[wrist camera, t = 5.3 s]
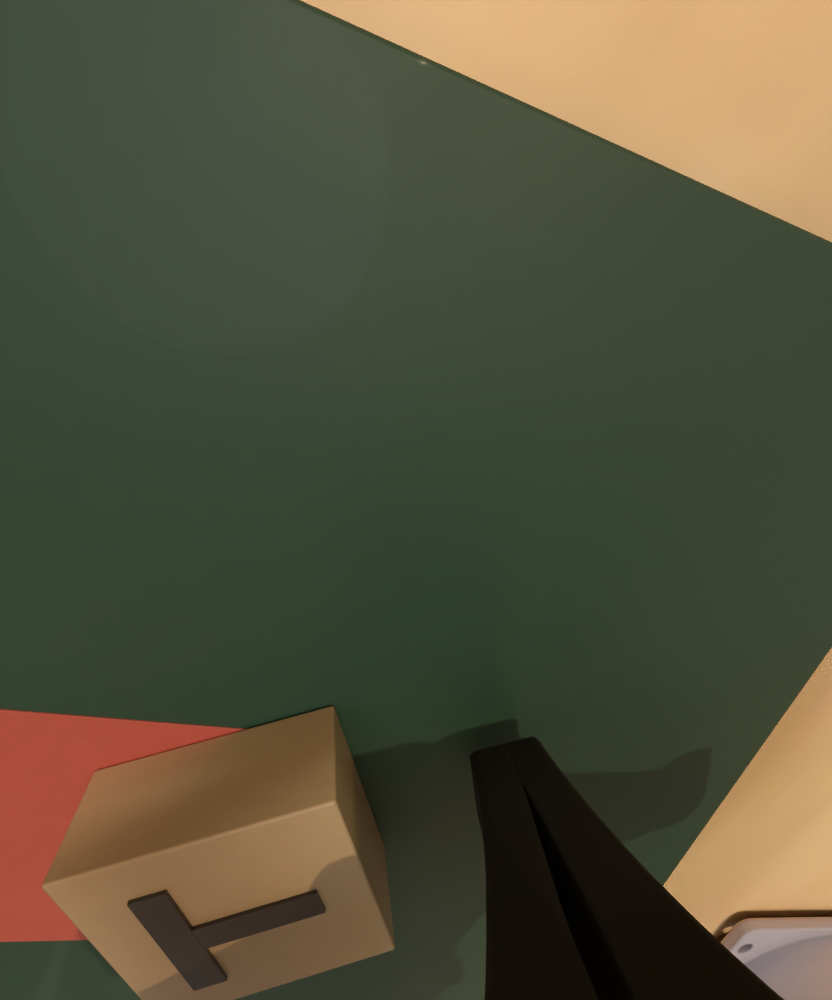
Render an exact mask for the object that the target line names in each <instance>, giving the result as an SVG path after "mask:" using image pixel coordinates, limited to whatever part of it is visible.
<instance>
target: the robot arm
mask: <svg viewBox="0 0 832 1000" xmlns="http://www.w3.org/2000/svg"><path fill="white" fill-rule="evenodd" d="M469 757H470V764H471V771H472V778H473V786H474V793H475V800H476V807H477V815H478V819H479V823H480V827H481V831H482V836H483V841H484V856H485V873H486V976H485V1000H832V917H778V918H747V919H744V920H741V921H740V922H738V923H736V924H735V925H734V926H733V927H732V929H731V930H730V931H729V932H728V934H727V935H726V936H725V937H724V938H723V940H722V941H721V942H719V941H718V940H717V939H716V938H715V937H714V936H713V935H712V934H711V933H710V932H709V931H708V930H707V929H706V928H704V927H703V926H702V925H701V924H700V923H699V922H698V921H697V920H696V919H695V918H694V917H693V916H692V915H691V914H690V913H689V912H688V911H687V910H686V909H685V908H684V907H683V906H682V905H681V904H680V903H679V902H678V901H677V900H676V899H675V898H674V897H673V896H672V895H671V894H670V893H669V892H668V891H667V890H666V889H665V888H664V887H663V886H662V885H661V884H660V883H659V882H658V881H657V880H656V879H655V878H654V877H653V876H652V875H651V874H650V873H649V871H648V870H647V869H646V868H645V867H644V866H643V865H642V864H641V863H640V862H639V861H638V860H637V859H636V858H635V857H634V856H633V854H632V853H631V852H630V851H629V850H628V849H627V848H626V847H625V846H624V845H623V844H622V842H621V841H620V840H619V839H618V838H617V837H616V836H615V834H614V833H613V832H612V831H611V830H610V829H609V828H608V827H607V825H606V824H605V823H604V822H603V821H602V820H601V819H600V818H599V816H598V815H597V814H596V813H595V812H594V811H593V809H592V808H591V807H590V806H589V805H588V803H587V802H586V801H585V800H584V799H583V797H582V796H581V795H580V794H579V792H578V791H577V790H576V789H575V788H574V786H573V785H572V784H571V783H570V781H569V780H568V779H567V778H566V776H565V775H564V774H563V772H562V771H561V770H560V768H559V767H558V766H557V765H556V763H555V762H554V761H553V759H552V758H551V756H550V755H549V754H548V752H547V751H546V749H545V748H544V747H543V745H542V744H541V742H540V741H539V739H537V738H535V737H533V736H532V737H528V738H524V739H520V740H516V741H512V742H508V743H504V744H500V745H496V746H492V747H488V748H484V749H480V750H476V751H474V752H473V753H472V754H471V755H470V756H469Z"/></svg>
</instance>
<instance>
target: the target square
mask: <svg viewBox="0 0 832 1000" xmlns="http://www.w3.org/2000/svg"><path fill="white" fill-rule="evenodd" d="M242 730H246V729H242V728H230V727H218V726H205V725H193V724H181V723H168V722H156V721H144V720H131V719H119V718H107V717H95V716H82V715H70V714H58V713H45V712H33V711H21V710H8V709H0V942H22V941H67V940H88V939H87V938H86V937H85V936H84V935H83V934H82V932H81V931H80V930H79V929H78V928H77V927H76V926H75V925H74V923H73V922H72V921H71V920H70V919H69V918H68V917H67V916H66V914H65V913H64V912H63V911H62V910H61V909H60V908H59V907H58V905H57V904H56V903H55V902H54V901H53V900H52V899H51V898H50V896H49V895H48V894H47V893H46V892H45V891H44V890H43V889H42V884H43V882H44V880H45V877H46V875H47V873H48V871H49V869H50V867H51V864H52V862H53V860H54V858H55V856H56V854H57V851H58V849H59V847H60V845H61V843H62V841H63V839H64V836H65V834H66V832H67V830H68V828H69V826H70V823H71V821H72V819H73V817H74V815H75V813H76V810H77V808H78V806H79V804H80V802H81V800H82V798H83V795H84V793H85V791H86V789H87V787H88V785H89V782H90V780H91V778H92V776H93V774H94V772H95V771H97V770H100V769H103V768H107V767H111V766H114V765H118V764H122V763H125V762H129V761H133V760H136V759H140V758H144V757H147V756H151V755H154V754H158V753H162V752H165V751H169V750H173V749H176V748H180V747H184V746H187V745H191V744H195V743H198V742H202V741H205V740H209V739H213V738H216V737H220V736H224V735H227V734H231V733H235V732H238V731H242Z"/></svg>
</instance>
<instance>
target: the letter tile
mask: <svg viewBox="0 0 832 1000" xmlns="http://www.w3.org/2000/svg"><path fill="white" fill-rule="evenodd" d="M42 889H43V890H44V891H45V892H46V893H47V894H48V895H49V896H50V898H51V899H52V900H53V901H54V902H55V903H56V904H57V905H58V907H59V908H60V909H61V910H62V911H63V912H64V913H65V914H66V916H67V917H68V918H69V919H70V920H71V921H72V922H73V923H74V925H75V926H76V927H77V928H78V929H79V930H80V931H81V932H82V934H83V935H84V936H85V937H86V938H87V939H88V940H89V941H90V943H91V944H92V945H93V946H94V947H95V948H96V949H97V950H98V952H99V953H100V954H101V955H102V956H103V957H104V958H105V959H106V961H107V962H108V963H109V964H110V965H111V966H112V967H113V968H114V970H115V971H116V972H117V973H118V974H119V975H120V976H121V977H122V978H123V980H124V981H125V982H126V983H127V984H128V985H129V986H130V987H131V989H132V990H133V991H134V992H135V993H136V994H137V995H138V996H139V998H140V999H141V1000H235V999H238V998H241V997H244V996H247V995H251V994H254V993H257V992H260V991H263V990H267V989H270V988H273V987H276V986H279V985H283V984H286V983H289V982H292V981H295V980H299V979H302V978H305V977H308V976H311V975H315V974H318V973H321V972H324V971H328V970H331V969H334V968H337V967H340V966H344V965H347V964H350V963H353V962H356V961H360V960H363V959H366V958H369V957H372V956H376V955H379V954H382V953H385V952H388V951H392V950H394V948H395V942H394V933H393V923H392V914H391V905H390V895H389V886H388V877H387V867H386V858H385V848H384V844H383V842H382V839H381V836H380V833H379V830H378V828H377V825H376V822H375V819H374V817H373V814H372V811H371V808H370V805H369V803H368V800H367V797H366V794H365V792H364V789H363V786H362V783H361V781H360V778H359V775H358V772H357V769H356V767H355V764H354V761H353V758H352V756H351V753H350V750H349V747H348V744H347V742H346V739H345V736H344V733H343V731H342V728H341V725H340V722H339V719H338V717H337V714H336V711H335V708H334V707H333V706H329V707H326V708H322V709H318V710H315V711H311V712H307V713H304V714H300V715H296V716H293V717H289V718H286V719H282V720H278V721H275V722H271V723H267V724H264V725H260V726H256V727H253V728H249V729H246V730H242V731H238V732H235V733H231V734H227V735H224V736H220V737H216V738H213V739H209V740H205V741H202V742H198V743H195V744H191V745H187V746H184V747H180V748H176V749H173V750H169V751H165V752H162V753H158V754H154V755H151V756H147V757H144V758H140V759H136V760H133V761H129V762H125V763H122V764H118V765H114V766H111V767H107V768H103V769H100V770H97V771H95V772H94V774H93V776H92V778H91V780H90V782H89V785H88V787H87V789H86V791H85V793H84V795H83V798H82V800H81V802H80V804H79V806H78V808H77V810H76V813H75V815H74V817H73V819H72V821H71V823H70V826H69V828H68V830H67V832H66V834H65V836H64V839H63V841H62V843H61V845H60V847H59V849H58V851H57V854H56V856H55V858H54V860H53V862H52V864H51V867H50V869H49V871H48V873H47V875H46V877H45V880H44V882H43V884H42Z"/></svg>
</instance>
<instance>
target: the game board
mask: <svg viewBox="0 0 832 1000" xmlns="http://www.w3.org/2000/svg"><path fill="white" fill-rule="evenodd" d="M831 647H832V242H829V241H827V240H825V239H823V238H821V237H818V236H816V235H814V234H812V233H810V232H807V231H805V230H803V229H801V228H799V227H796V226H794V225H792V224H790V223H788V222H785V221H783V220H781V219H779V218H777V217H775V216H772V215H770V214H768V213H766V212H764V211H761V210H759V209H757V208H755V207H753V206H750V205H748V204H746V203H744V202H742V201H739V200H737V199H735V198H733V197H731V196H728V195H726V194H724V193H722V192H720V191H717V190H715V189H713V188H711V187H709V186H706V185H704V184H702V183H700V182H698V181H695V180H693V179H691V178H689V177H687V176H684V175H682V174H680V173H678V172H676V171H674V170H671V169H669V168H667V167H665V166H663V165H660V164H658V163H656V162H654V161H652V160H649V159H647V158H645V157H643V156H641V155H638V154H636V153H634V152H632V151H630V150H627V149H625V148H623V147H621V146H619V145H616V144H614V143H612V142H610V141H608V140H605V139H603V138H601V137H599V136H597V135H594V134H592V133H590V132H588V131H586V130H583V129H581V128H579V127H577V126H575V125H573V124H570V123H568V122H566V121H564V120H562V119H559V118H557V117H555V116H553V115H551V114H548V113H546V112H544V111H542V110H540V109H537V108H535V107H533V106H531V105H529V104H526V103H524V102H522V101H520V100H518V99H515V98H513V97H511V96H509V95H507V94H504V93H502V92H500V91H498V90H496V89H493V88H491V87H489V86H487V85H485V84H482V83H480V82H478V81H476V80H474V79H472V78H469V77H467V76H465V75H463V74H461V73H458V72H456V71H454V70H452V69H450V68H447V67H445V66H443V65H441V64H439V63H436V62H434V61H432V60H430V59H428V58H425V57H423V56H421V55H419V54H417V53H414V52H412V51H410V50H408V49H406V48H403V47H401V46H399V45H397V44H395V43H392V42H390V41H388V40H386V39H384V38H381V37H379V36H377V35H375V34H373V33H371V32H368V31H366V30H364V29H362V28H360V27H357V26H355V25H353V24H351V23H349V22H346V21H344V20H342V19H340V18H338V17H335V16H333V15H331V14H329V13H327V12H324V11H322V10H320V9H318V8H316V7H313V6H311V5H309V4H307V3H305V2H302V1H300V0H0V709H8V710H21V711H33V712H45V713H58V714H70V715H82V716H95V717H107V718H119V719H131V720H144V721H156V722H168V723H181V724H193V725H205V726H218V727H230V728H242V729H249V728H253V727H256V726H260V725H264V724H267V723H271V722H275V721H278V720H282V719H286V718H289V717H293V716H296V715H300V714H304V713H307V712H311V711H315V710H318V709H322V708H326V707H329V706H333V707H334V708H335V711H336V714H337V717H338V719H339V722H340V725H341V728H342V731H343V733H344V736H345V739H346V742H347V744H348V747H349V750H350V753H351V756H352V758H353V761H354V764H355V767H356V769H357V772H358V775H359V778H360V781H361V783H362V786H363V789H364V792H365V794H366V797H367V800H368V803H369V805H370V808H371V811H372V814H373V817H374V819H375V822H376V825H377V828H378V830H379V833H380V836H381V839H382V842H383V844H384V848H385V858H386V867H387V877H388V886H389V895H390V905H391V914H392V923H393V933H394V942H395V948H394V950H392V951H388V952H385V953H382V954H379V955H376V956H372V957H369V958H366V959H363V960H360V961H356V962H353V963H350V964H347V965H344V966H340V967H337V968H334V969H331V970H328V971H324V972H321V973H318V974H315V975H311V976H308V977H305V978H302V979H299V980H295V981H292V982H289V983H286V984H283V985H279V986H276V987H273V988H270V989H267V990H263V991H260V992H257V993H254V994H251V995H247V996H244V997H241V998H238V999H235V1000H485V976H486V873H485V856H484V841H483V836H482V831H481V827H480V823H479V819H478V815H477V807H476V800H475V793H474V786H473V778H472V771H471V764H470V757H469V756H470V755H471V754H472V753H473V752H474V751H476V750H480V749H484V748H488V747H492V746H496V745H500V744H504V743H508V742H512V741H516V740H520V739H524V738H528V737H532V736H533V737H535V738H537V739H539V741H540V742H541V744H542V745H543V747H544V748H545V749H546V751H547V752H548V754H549V755H550V756H551V758H552V759H553V761H554V762H555V763H556V765H557V766H558V767H559V768H560V770H561V771H562V772H563V774H564V775H565V776H566V778H567V779H568V780H569V781H570V783H571V784H572V785H573V786H574V788H575V789H576V790H577V791H578V792H579V794H580V795H581V796H582V797H583V799H584V800H585V801H586V802H587V803H588V805H589V806H590V807H591V808H592V809H593V811H594V812H595V813H596V814H597V815H598V816H599V818H600V819H601V820H602V821H603V822H604V823H605V824H606V825H607V827H608V828H609V829H610V830H611V831H612V832H613V833H614V834H615V836H616V837H617V838H618V839H619V840H620V841H621V842H622V844H623V845H624V846H625V847H626V848H627V849H628V850H629V851H630V852H631V853H632V854H633V856H634V857H635V858H636V859H637V860H638V861H639V862H640V863H641V864H642V865H643V866H644V867H645V868H646V869H647V870H648V871H649V873H650V874H651V875H652V876H653V877H654V878H655V879H656V880H657V881H658V882H659V883H660V884H661V885H662V886H663V885H664V883H665V882H666V880H667V879H668V878H669V876H670V875H671V873H672V872H673V871H674V869H675V868H676V866H677V865H678V864H679V862H680V861H681V859H682V858H683V856H684V855H685V854H686V852H687V851H688V849H689V848H690V847H691V845H692V844H693V842H694V841H695V840H696V838H697V837H698V835H699V834H700V832H701V831H702V830H703V828H704V827H705V825H706V824H707V823H708V821H709V820H710V818H711V817H712V815H713V814H714V813H715V811H716V810H717V808H718V807H719V806H720V804H721V803H722V801H723V800H724V799H725V797H726V796H727V794H728V793H729V791H730V790H731V789H732V787H733V786H734V784H735V783H736V782H737V780H738V779H739V777H740V776H741V775H742V773H743V772H744V770H745V769H746V767H747V766H748V765H749V763H750V762H751V760H752V759H753V758H754V756H755V755H756V753H757V752H758V751H759V749H760V748H761V746H762V745H763V743H764V742H765V741H766V739H767V738H768V736H769V735H770V734H771V732H772V731H773V729H774V728H775V727H776V725H777V724H778V722H779V721H780V719H781V718H782V717H783V715H784V714H785V712H786V711H787V710H788V708H789V707H790V705H791V704H792V702H793V701H794V700H795V698H796V697H797V695H798V694H799V693H800V691H801V690H802V688H803V687H804V686H805V684H806V683H807V681H808V680H809V678H810V677H811V676H812V674H813V673H814V671H815V670H816V669H817V667H818V666H819V664H820V663H821V662H822V660H823V659H824V657H825V656H826V654H827V653H828V652H829V650H830V649H831ZM0 1000H141V999H140V998H139V996H138V995H137V994H136V993H135V992H134V991H133V990H132V989H131V987H130V986H129V985H128V984H127V983H126V982H125V981H124V980H123V978H122V977H121V976H120V975H119V974H118V973H117V972H116V971H115V970H114V968H113V967H112V966H111V965H110V964H109V963H108V962H107V961H106V959H105V958H104V957H103V956H102V955H101V954H100V953H99V952H98V950H97V949H96V948H95V947H94V946H93V945H92V944H91V943H90V941H89V940H67V941H22V942H0Z"/></svg>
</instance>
